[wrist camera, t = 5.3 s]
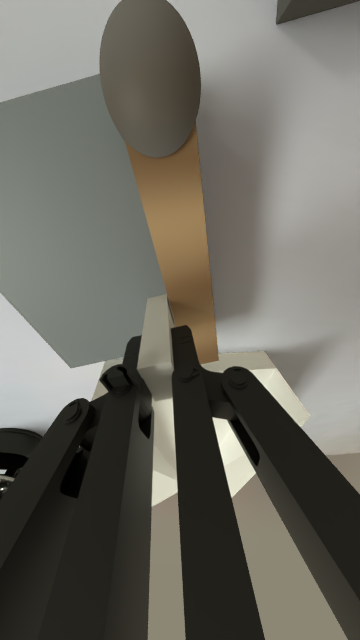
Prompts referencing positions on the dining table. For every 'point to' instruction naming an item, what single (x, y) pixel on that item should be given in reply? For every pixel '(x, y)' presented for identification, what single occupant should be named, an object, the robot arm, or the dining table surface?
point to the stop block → (304, 8)
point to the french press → (15, 453)
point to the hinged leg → (163, 149)
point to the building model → (229, 445)
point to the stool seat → (73, 224)
